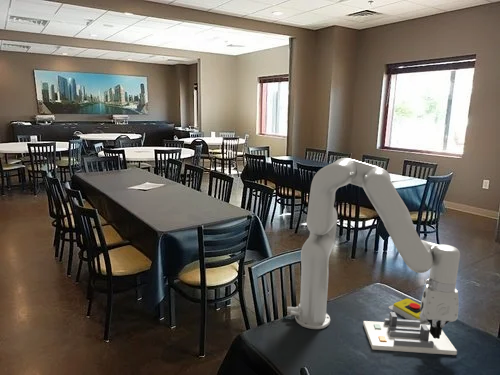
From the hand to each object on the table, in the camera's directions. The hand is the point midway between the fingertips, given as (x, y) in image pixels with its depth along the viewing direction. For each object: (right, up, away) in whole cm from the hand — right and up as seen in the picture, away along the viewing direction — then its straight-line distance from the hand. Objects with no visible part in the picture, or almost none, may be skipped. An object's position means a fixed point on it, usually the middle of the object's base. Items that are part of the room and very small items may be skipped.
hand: (434, 336), depth 120 cm
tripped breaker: (-3, -2, +1) cm, 4 cm away
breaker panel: (-7, -3, +5) cm, 9 cm away
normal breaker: (-11, 0, +8) cm, 13 cm away
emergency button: (+1, 0, +21) cm, 21 cm away
